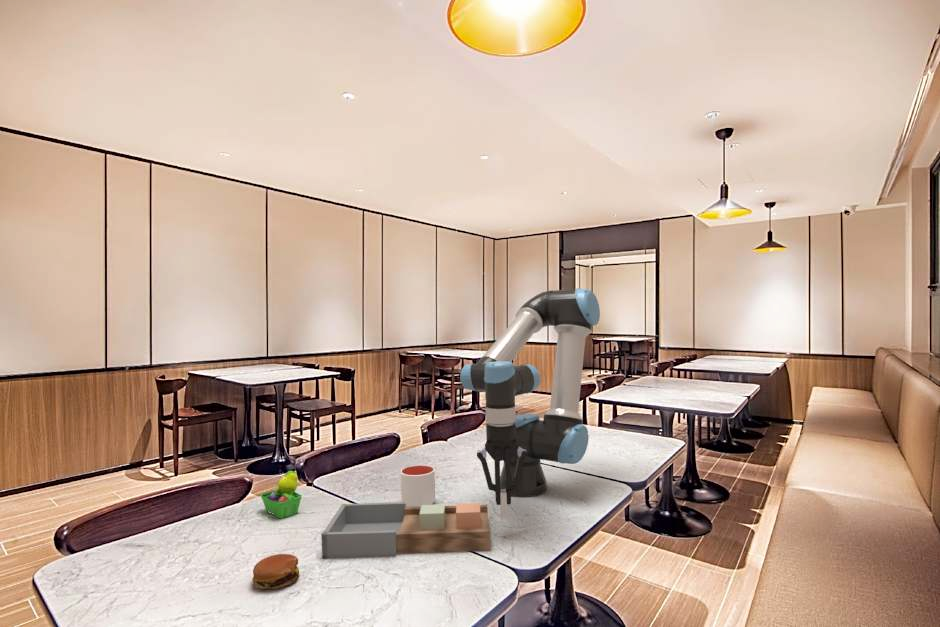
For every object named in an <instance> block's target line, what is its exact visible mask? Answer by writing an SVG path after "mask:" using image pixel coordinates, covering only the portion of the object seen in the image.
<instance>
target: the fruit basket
mask: <svg viewBox="0 0 940 627" xmlns="http://www.w3.org/2000/svg"><path fill="white" fill-rule="evenodd" d="M298 477H299V476H298V475H297V472H296V471H293V470H288V471H287V472H286V474H285V475H284V476H283V477H281V479H279V480H278V482H277V487H278V489H273V491H269V492H265V493H262V494H260V497H261V498H260V499H262V502H263V505H264V507H265V508H264V509H265V511H266V510H267V511H269V512H271V513H273V514H274V515H276V516H278V517H279V518H278V517H277V518H278V519H280V518H282V519H284V518H283V517H285V518H288V517H291V516H293V515H297V514H298V512H299V507H300V503H301V500H302V497H303V495H302V494H299V493H298V492H296V490H297V489H298V479H299V478H298ZM296 513H297V514H296ZM274 515H273V516H274ZM290 515H291V516H290ZM276 516H275V517H276ZM287 516H288V517H287Z"/></svg>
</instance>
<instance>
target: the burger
mask: <svg viewBox="0 0 940 627" xmlns="http://www.w3.org/2000/svg"><path fill="white" fill-rule="evenodd" d="M298 565H299V559H298V557H297V556H295V555H293V554H289V553H279V554H278V553H277V554H273V555H270V556H269V555H268V556H267V557H265V558H262V559H260V560H259V561H258V562H257V563H256V564H255V565H254V567H253V570H252V574H253V577H252V585H253V587H254V588H256V589H261V590H264V589H265V590H270V589H271V590H277V589H280V588H283V587H285V586H289V585H291V584H292V583H294V582H296V580H297V579H298V578H299V577H300V569H299V567H298Z"/></svg>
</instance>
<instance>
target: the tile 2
mask: <svg viewBox="0 0 940 627" xmlns="http://www.w3.org/2000/svg"><path fill="white" fill-rule="evenodd" d="M480 505H481V503H480V502H474V503H473V502H472V503H470V502H469V503H456V505H455V506H456V529H476V528H481V516H480Z"/></svg>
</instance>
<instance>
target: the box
mask: <svg viewBox="0 0 940 627" xmlns="http://www.w3.org/2000/svg"><path fill="white" fill-rule="evenodd" d="M405 507H406V502H402V501H397V502H394V501H393V502H390V501H389V502H366V503H365V502H362V503H359V502H358V503H342V504H341V505H340V506H339V507H338V510H337V511H336V512H335V514H334V515H333V517H332V519H331V520H330V521H329V523H328V524H327V526H326V527H325V529H324V530H323V532H322V533H321V558H322V559H334V558H335V559H337V558H341V559H343V558H370V557H371V558H372V557H397V555H398V554H397V545H396V534H397V532H399V531H400V528H401V525H402V522H403V519H404V516H405Z"/></svg>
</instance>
